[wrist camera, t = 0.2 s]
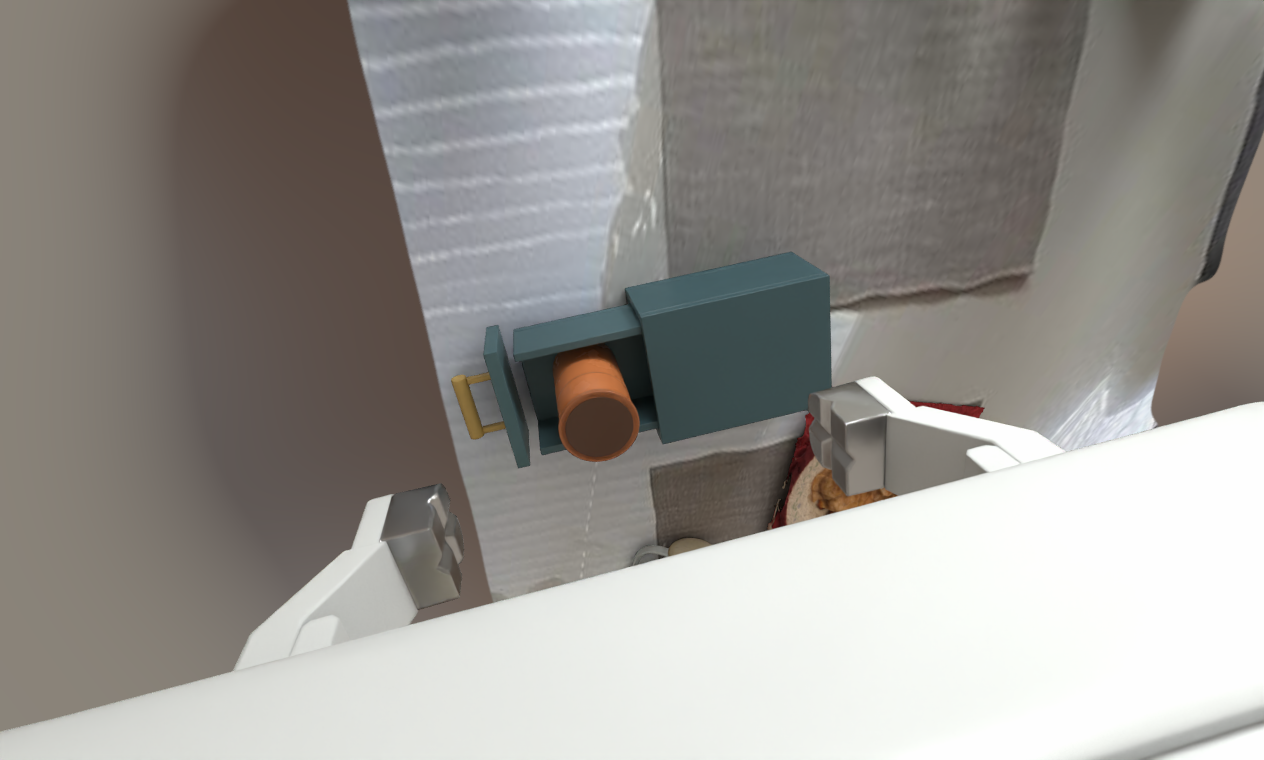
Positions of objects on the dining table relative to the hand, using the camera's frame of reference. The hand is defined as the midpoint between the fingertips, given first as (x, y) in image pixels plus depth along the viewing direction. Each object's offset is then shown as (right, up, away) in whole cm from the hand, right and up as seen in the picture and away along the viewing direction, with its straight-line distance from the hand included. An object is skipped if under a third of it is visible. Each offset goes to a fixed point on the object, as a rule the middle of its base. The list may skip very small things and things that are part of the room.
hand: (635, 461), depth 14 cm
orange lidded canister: (-5, +3, +49) cm, 50 cm away
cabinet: (+9, +7, +52) cm, 54 cm away
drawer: (-7, +3, +50) cm, 51 cm away
